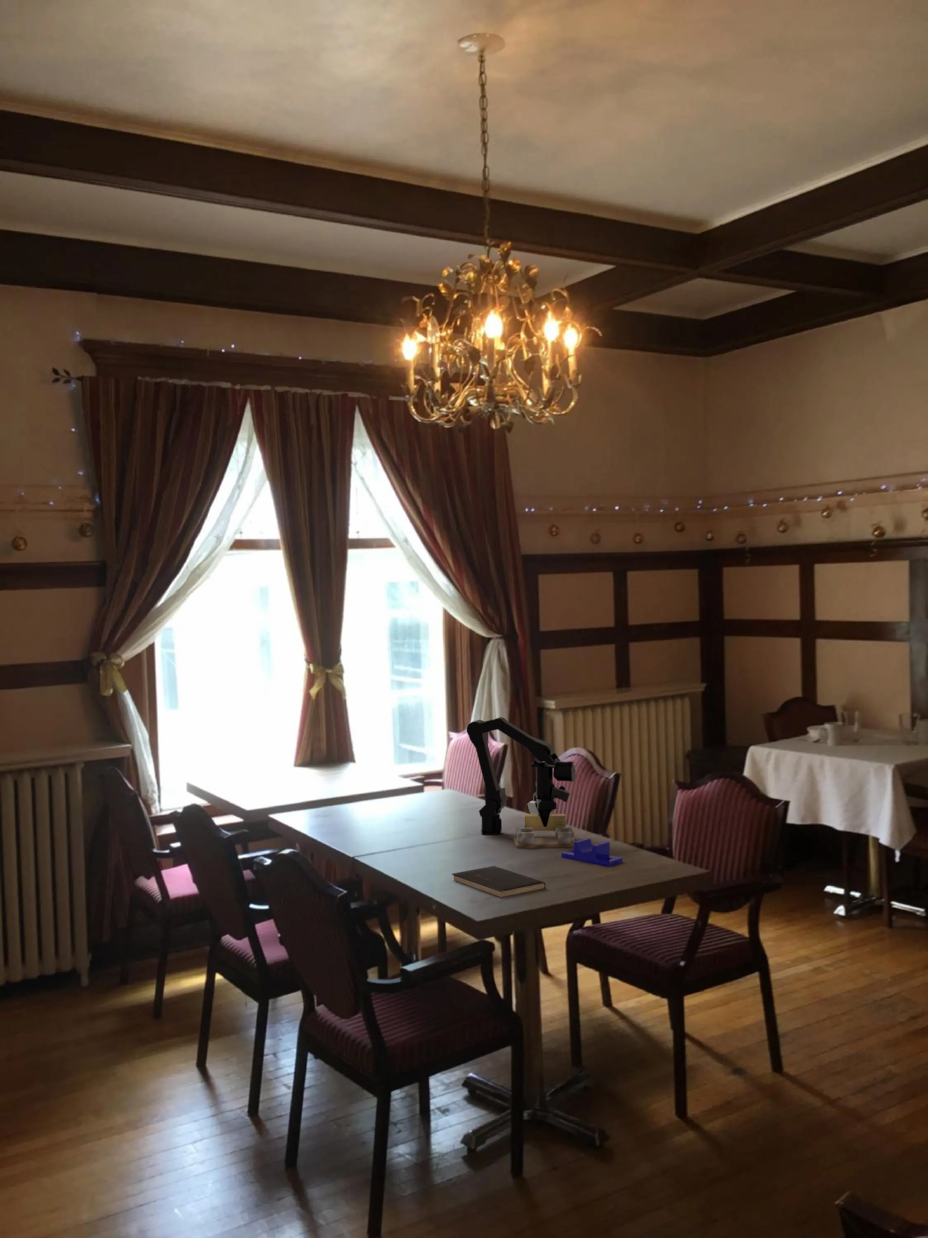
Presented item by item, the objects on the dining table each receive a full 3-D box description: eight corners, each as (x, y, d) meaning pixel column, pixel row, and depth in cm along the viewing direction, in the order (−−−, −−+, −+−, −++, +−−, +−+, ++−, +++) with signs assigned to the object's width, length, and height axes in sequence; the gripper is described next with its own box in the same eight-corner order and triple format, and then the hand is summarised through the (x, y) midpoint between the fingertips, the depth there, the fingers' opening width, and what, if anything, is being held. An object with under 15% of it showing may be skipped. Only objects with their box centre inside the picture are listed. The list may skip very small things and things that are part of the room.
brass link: (524, 830, 370) (524, 816, 370) (523, 828, 373) (523, 814, 373) (565, 830, 370) (565, 815, 370) (564, 828, 374) (564, 813, 373)
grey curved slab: (561, 827, 386) (553, 801, 385) (550, 833, 385) (541, 807, 384) (544, 818, 402) (535, 793, 401) (533, 823, 401) (524, 799, 399)
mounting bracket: (622, 863, 335) (622, 844, 335) (609, 868, 330) (609, 848, 330) (575, 854, 347) (575, 836, 347) (561, 858, 342) (561, 839, 342)
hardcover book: (500, 899, 296) (500, 890, 296) (452, 881, 315) (452, 873, 315) (545, 889, 305) (545, 881, 305) (495, 873, 324) (495, 865, 324)
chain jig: (516, 848, 355) (516, 834, 355) (513, 840, 366) (513, 827, 366) (577, 847, 356) (577, 833, 355) (572, 839, 366) (572, 826, 366)
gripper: (571, 784, 362) (571, 831, 363) (564, 775, 381) (564, 819, 381) (538, 785, 362) (538, 831, 362) (532, 775, 381) (533, 820, 381)
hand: (544, 825), depth 372 cm, fingers closed on brass link, 3 cm apart
